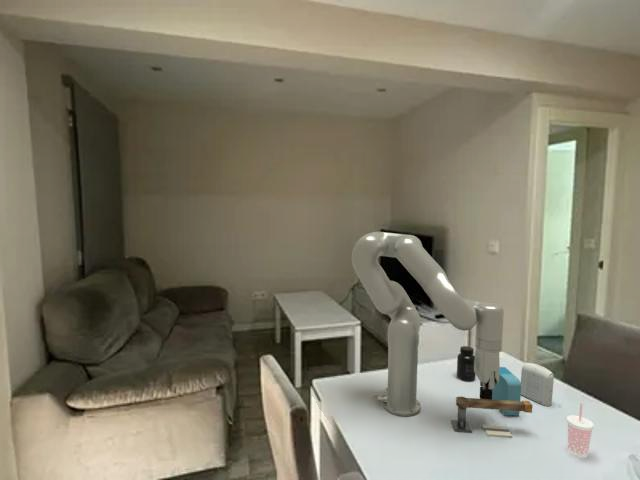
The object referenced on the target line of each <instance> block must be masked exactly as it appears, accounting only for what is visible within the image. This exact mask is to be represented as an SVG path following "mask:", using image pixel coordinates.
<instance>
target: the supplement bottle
mask: <svg viewBox="0 0 640 480" xmlns="http://www.w3.org/2000/svg"><path fill="white" fill-rule="evenodd" d="M459 352H460V353H458V354H457V357H456V358H457V359H456V360H457V361H456V362H457V363H456V365H457V366H456V377H457V378H458V379H459V380H461V381H463V382H474V381H475V380H476V377H477V376H476V374H475V372H474V359H475V350H474V348H473V347H471V346H466V345H465V346H460V350H459Z"/></svg>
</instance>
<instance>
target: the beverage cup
mask: <svg viewBox="0 0 640 480" xmlns="http://www.w3.org/2000/svg"><path fill="white" fill-rule="evenodd" d="M579 404H580V405H579V415H575V414H572V415H571V414H570V415H567V417H566V423H567V451H568V452H569V454H571V455H572V456H574V457H577V458H582V459H585V458H587V457H588V456H589V451H590V446H591V445H590V444H591V438H592V433H593V432H592V431H593V430H594V426H595V425H594V423H593V421H591V420H590V419H588V418H585V417H583V414H582V413H583V403H579Z"/></svg>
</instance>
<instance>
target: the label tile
mask: <svg viewBox="0 0 640 480" xmlns="http://www.w3.org/2000/svg"><path fill="white" fill-rule="evenodd" d="M481 427H482V428H483V430H484V433H485V434H486V436H487V437H495V438H496V437H497V438H508V439H509V438H510V439H512V438H513V435H512V434H511V432H510V430H509V429H508V426H506V425H498V424H497V425H494V424H484V423H483V424H481Z"/></svg>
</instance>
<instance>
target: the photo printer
mask: <svg viewBox="0 0 640 480" xmlns="http://www.w3.org/2000/svg"><path fill="white" fill-rule="evenodd" d="M520 376H521V377H520V382H521V396H523V397H525V398H527V399H528V400H532V401H534V402H536V403H538V404H540V405H543V406H545V407H551V405H552V402H553V391H554V379H555V375H554V373H553V372H552V371H551V370H550V369H548V368H546V367H544V366H542V365H539V364H538V363H537V364H536V363H533V362H525V363H523V364H522V367H521V375H520Z"/></svg>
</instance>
